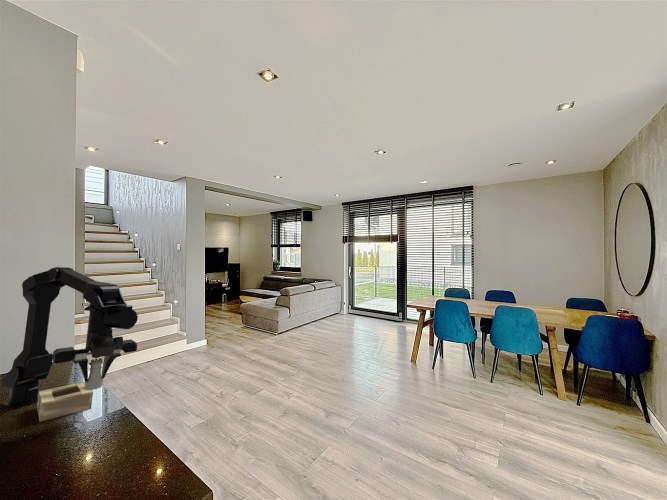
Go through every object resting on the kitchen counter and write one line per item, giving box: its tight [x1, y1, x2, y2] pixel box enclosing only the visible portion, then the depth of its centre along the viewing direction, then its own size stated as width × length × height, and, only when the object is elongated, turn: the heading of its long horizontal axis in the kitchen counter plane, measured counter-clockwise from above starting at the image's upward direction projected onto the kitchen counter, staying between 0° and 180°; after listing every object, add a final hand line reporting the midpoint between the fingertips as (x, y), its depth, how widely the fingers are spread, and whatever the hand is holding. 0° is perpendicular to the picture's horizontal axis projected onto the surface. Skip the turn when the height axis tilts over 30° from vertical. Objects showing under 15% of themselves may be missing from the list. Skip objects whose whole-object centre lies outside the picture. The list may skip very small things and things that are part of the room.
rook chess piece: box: [84, 357, 104, 391], centre depth 83 cm, size 4×4×8 cm
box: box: [36, 381, 94, 423], centre depth 85 cm, size 11×11×5 cm
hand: (94, 380), depth 82 cm, fingers closed on rook chess piece, 3 cm apart
